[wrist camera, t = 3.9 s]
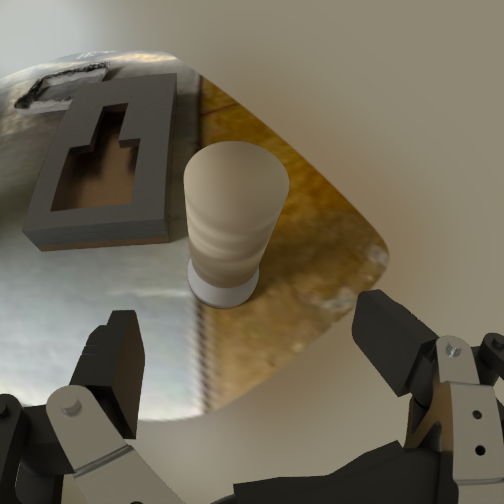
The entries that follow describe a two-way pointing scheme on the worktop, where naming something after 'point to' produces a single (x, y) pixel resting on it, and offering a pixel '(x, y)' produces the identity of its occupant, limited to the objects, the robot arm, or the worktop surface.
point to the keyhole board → (108, 168)
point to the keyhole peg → (231, 218)
